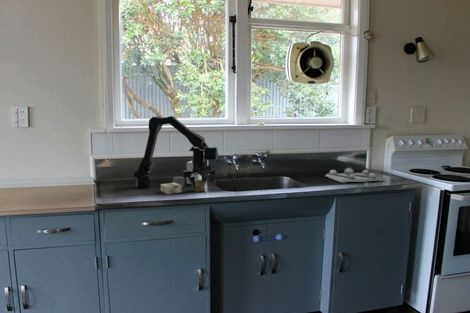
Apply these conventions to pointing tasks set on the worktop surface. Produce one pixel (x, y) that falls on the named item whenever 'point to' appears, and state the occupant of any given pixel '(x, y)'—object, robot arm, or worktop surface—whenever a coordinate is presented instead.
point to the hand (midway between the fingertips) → (198, 188)
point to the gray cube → (179, 180)
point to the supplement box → (189, 168)
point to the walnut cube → (199, 185)
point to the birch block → (171, 188)
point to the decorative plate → (353, 176)
